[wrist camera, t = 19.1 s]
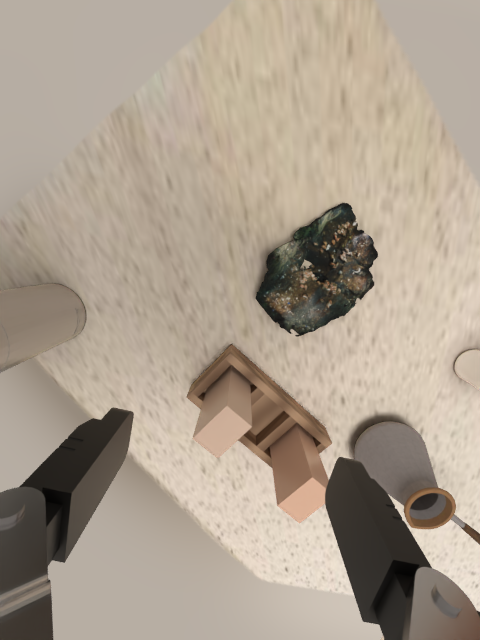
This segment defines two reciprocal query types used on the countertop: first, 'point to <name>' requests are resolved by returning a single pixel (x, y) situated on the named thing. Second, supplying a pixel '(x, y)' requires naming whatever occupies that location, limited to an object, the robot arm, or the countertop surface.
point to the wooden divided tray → (261, 405)
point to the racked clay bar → (224, 412)
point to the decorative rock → (318, 272)
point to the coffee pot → (407, 475)
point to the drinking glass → (469, 367)
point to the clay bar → (298, 473)
